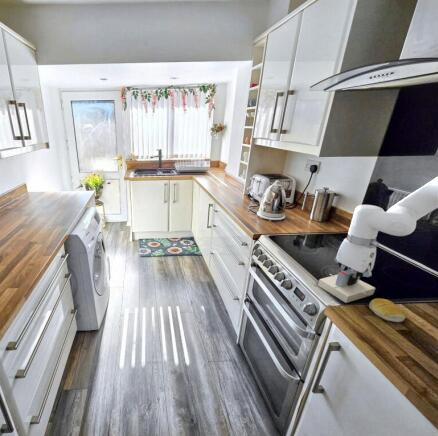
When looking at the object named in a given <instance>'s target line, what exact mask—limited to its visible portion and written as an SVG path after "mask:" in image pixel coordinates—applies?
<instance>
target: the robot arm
mask: <svg viewBox="0 0 438 436" xmlns="http://www.w3.org/2000/svg"><path fill="white" fill-rule="evenodd" d="M437 209H438V176H436V177H434V178H433V179H432V180H430V181H429V182H427V183H426V184H424V185H423V186H420V188H418V189H416V190H414V191H412V192H411V193H410V194H408V195H407V196H405V197H404V198H403V199H401V200H399V201H398V202H396V203H395V204H394V205H392V206H391V207H389V208H388V209H387V210H386V211H385V210H384V209H383V208H382V207H381V206H377V205H373V204H360V205H357V206H356V207H355V209H354V211H353V215H352V218H351V222H350V226H349V229H348V232H347V236H346V237H345V238H344V239H343V241H341V244H340V246H339V248H338V251H337V254H336V256H335V258H334V259H333V261H334V262H335V263H336V264H337V265H338V267H339V272H340V271H345V270H348V269H353V273H352V276H350V277H349V280H348V285H349V286H350V285H354V284H356V282H357V279H358V277H360V278H361V277H364V278H365V277H366V278H370V277H372V276H373V275H372V271H373V269H374V266H375V263H376V257H377V247H378V246H379V245H380V242H379V241H377V237H378V233H379V232H382V233H384V234H386V235H387V234H388V235H391V236H395V237H405V236H408V235H411V234H412V233H413V232H414V231H415V230H416V227H417V221H418V220H420V219H421V218H423V217H425V216H426V215H428V214H430V213H431V212H433V211H435V210H437Z"/></svg>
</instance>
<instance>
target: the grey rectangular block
mask: <svg viewBox="0 0 438 436" xmlns="http://www.w3.org/2000/svg"><path fill="white" fill-rule="evenodd" d="M352 273H353V269H352V268H349V269H348V270H345V271H340V270H339V271H338V273H337V274H338V276H337V280H336V283H335V284H336V285H337V286H339V287H344V286H348V280H349V277H350V276H352ZM360 278H361V276H360V277H358V279H357V282H356V283H358V281H359V280H360Z"/></svg>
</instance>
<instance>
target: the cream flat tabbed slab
mask: <svg viewBox="0 0 438 436" xmlns="http://www.w3.org/2000/svg"><path fill="white" fill-rule="evenodd" d="M329 275H330V276H327V277H323V278H320V279H319V280H318V283H317V286H318V287H320V288H321V289H322V290H324V291H326V292H328V293H329V294H331V295H332V296H334V297H336V298H337V299H339V300H340V301H342V302H344V303H345V304H347V303H350V302H354V301H357V300H360V299H363V298H367V297H371V296H373V295H374V293H375V291H376V287H375V286H372V285H371V284H369V283H367V282H365V281H362V280H361V279H359V281H358V283H356V284H354V285H350V286H349V285H348V286H344V287H339V286H337V285H336V284H335V283H336V280H337V276H338V273H337V274H332V273H329Z"/></svg>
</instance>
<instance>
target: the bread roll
mask: <svg viewBox="0 0 438 436" xmlns="http://www.w3.org/2000/svg"><path fill="white" fill-rule="evenodd" d="M368 307H369V309H370V311H371V312H373V313H374V315H376V316H377V317H379V318H381V319H383V320H384V321H385V320H386V321H388V322H394V323H401V322H404V321H405V319H406V318H407V316H406V313H405V312H404V311H403V310H402V309H401V308H400V307H398V306H397V304H395V302H393V301H391V300H389V299H385V298H374V299H372V300H371V301H370V302H369V304H368Z"/></svg>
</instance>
